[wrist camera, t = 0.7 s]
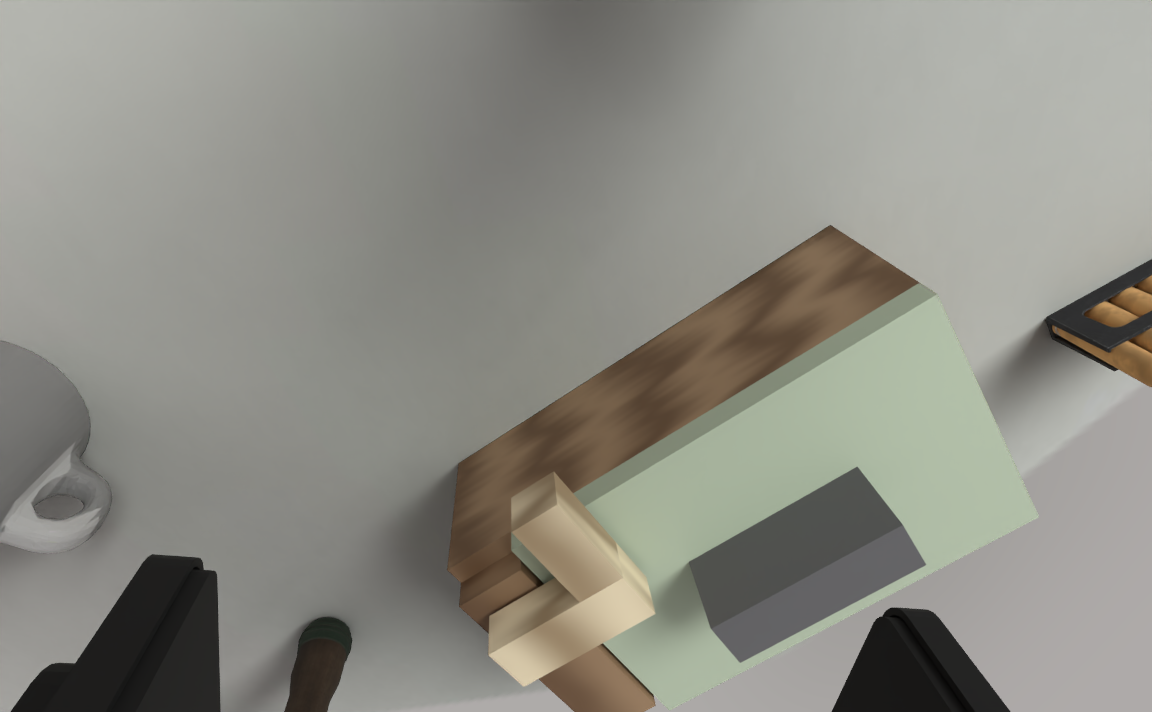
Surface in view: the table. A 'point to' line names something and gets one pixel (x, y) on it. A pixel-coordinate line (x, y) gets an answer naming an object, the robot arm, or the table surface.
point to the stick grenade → (318, 665)
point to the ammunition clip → (1112, 324)
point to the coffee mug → (44, 455)
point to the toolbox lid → (806, 498)
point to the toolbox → (651, 424)
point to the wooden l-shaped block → (565, 586)
